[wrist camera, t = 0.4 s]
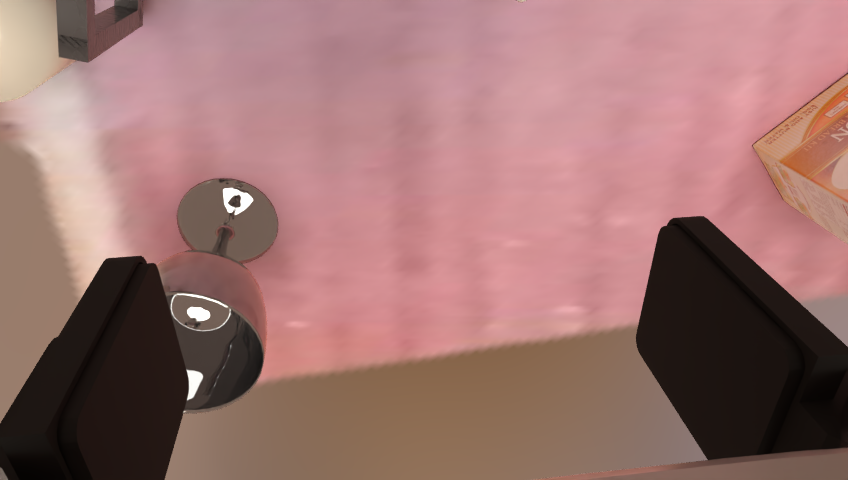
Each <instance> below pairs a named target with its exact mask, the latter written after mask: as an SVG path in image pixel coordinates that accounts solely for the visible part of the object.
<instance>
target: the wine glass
mask: <svg viewBox="0 0 848 480" xmlns="http://www.w3.org/2000/svg"><path fill="white" fill-rule="evenodd" d="M177 224H178V228H179V231H180V234H181V236H182V238H183V239H184V241H185V242H186V243H187V245H188V246H189V247H190V248H191V249H192V250H191V251H185V252H181V253H177V254H175V255H173V256H170V257H168V258H166V259H164V260H163V261H161V262H160V263H158V264H157V265H156V266H157V267H158V270H159V273H160V277H161V280H162V284H163V288H164V291H165V295H166V298H167V302H168V305H169V309H170V313H171V316H172V320H173V323H174V327H175V330H176V334H177V338H178V341H179V345H180V348H181V352H182V356H183V359H184V363H185V366H186V370H187V373H188V378H189V394H188V398H187V402H186V405H185V409H184V413H203V412H209V411H213V410H218V409H221V408H223V407H226V406H228V405H230V404H232V403H234V402H236V401H238V400H239V399H241V398H242V397H243V396H244V395H246V394H247V393H248V392H249V391H250V390H251V389H252V388H253V386H254V385H255V384H256V382H257V380H258V378H259V376H260V374H261V371H262V367H263V363H264V358H265V352H266V342H267V316H266V309H265V304H264V300H263V296H262V292H261V290H260V288H259V285H258V283H257V281H256V279H255V278H254V277H253V275H252V274H251V272H250V271H249V270H248V269H247V268H246V267H245V266H244V265H242V264H243V263H247V262H250V261H253V260H255V259H257V258H259V257H260V256H262V255H263V254H264V253H265V252H267V251H268V250H269V248H270V247H271V246H272V244H273V243H274V241H275V238H276V236H277V232H278V219H277V214H276V212H275V209H274V207H273V205H272V204H271V202H270V200H269V199H268V198H267V197H266V196H265V195H264V194H263V193H262V192H261V191H259V190H258V189H257V188H255V187H253V186H252V185H250V184H247V183H245V182H242V181H239V180H234V179H226V178H220V179H212V180H208V181H205V182H202V183H200V184H198V185H196V186H195V187H193V188H192V189H190V190H189V191H188V192H187V193H186V195H185V196H184V197H183V199H182V200H181V202H180V205H179V208H178V212H177Z"/></svg>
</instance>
